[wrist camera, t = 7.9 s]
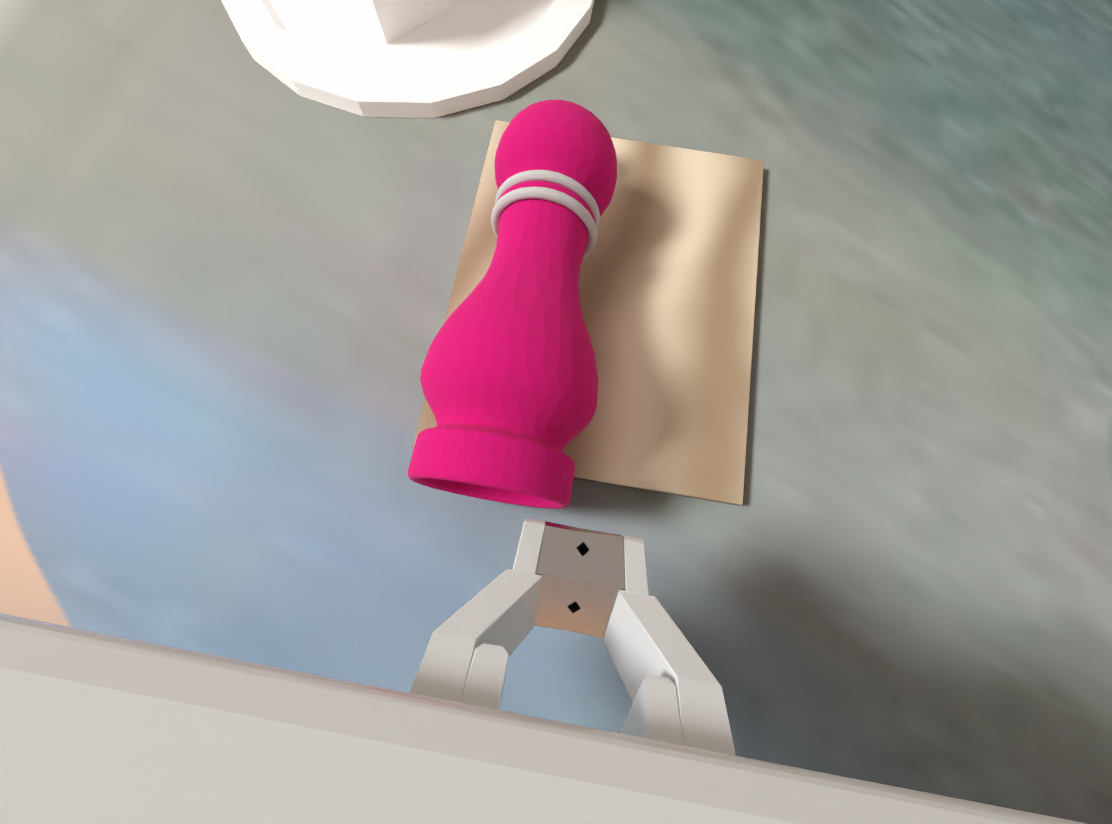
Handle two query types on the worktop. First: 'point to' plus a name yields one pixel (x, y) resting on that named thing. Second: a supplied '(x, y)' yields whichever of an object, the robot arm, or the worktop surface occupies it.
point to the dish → (408, 49)
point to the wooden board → (658, 317)
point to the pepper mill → (523, 322)
